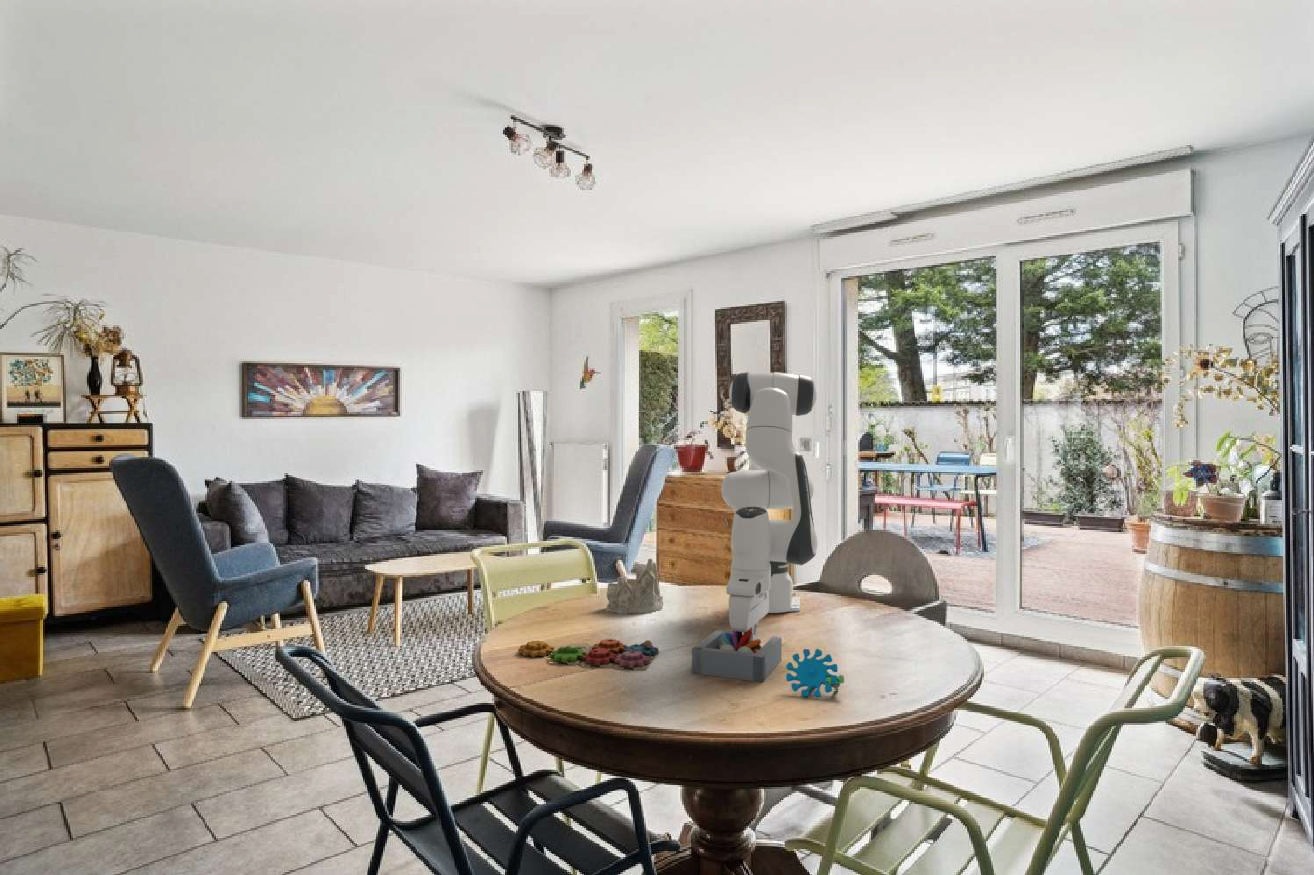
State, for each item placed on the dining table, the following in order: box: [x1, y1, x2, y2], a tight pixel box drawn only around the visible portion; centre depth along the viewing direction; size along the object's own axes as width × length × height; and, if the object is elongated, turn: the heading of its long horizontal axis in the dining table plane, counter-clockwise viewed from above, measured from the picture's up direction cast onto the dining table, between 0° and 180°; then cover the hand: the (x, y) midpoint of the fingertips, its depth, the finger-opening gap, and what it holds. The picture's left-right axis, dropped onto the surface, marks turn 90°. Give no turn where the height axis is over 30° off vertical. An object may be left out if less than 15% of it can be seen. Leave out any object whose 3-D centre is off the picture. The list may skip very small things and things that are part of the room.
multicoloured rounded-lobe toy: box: [718, 629, 763, 653], centre depth 167 cm, size 8×10×7 cm
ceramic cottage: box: [605, 558, 664, 614], centre depth 218 cm, size 16×16×15 cm
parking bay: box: [691, 630, 783, 683], centre depth 163 cm, size 16×15×5 cm
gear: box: [785, 648, 845, 698], centre depth 149 cm, size 11×6×10 cm
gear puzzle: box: [517, 638, 660, 672], centre depth 171 cm, size 31×16×4 cm, turn 77°
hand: (750, 642), depth 172 cm, fingers closed
